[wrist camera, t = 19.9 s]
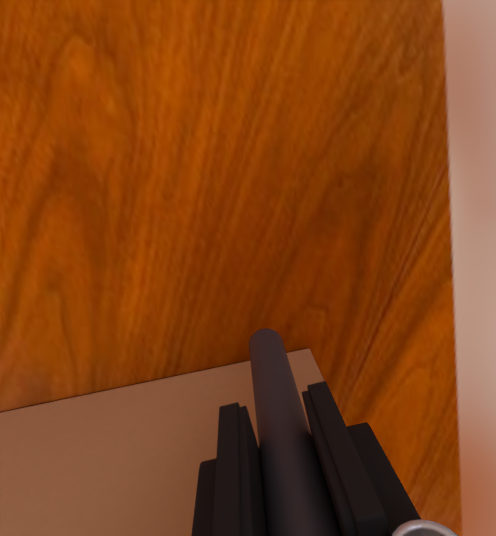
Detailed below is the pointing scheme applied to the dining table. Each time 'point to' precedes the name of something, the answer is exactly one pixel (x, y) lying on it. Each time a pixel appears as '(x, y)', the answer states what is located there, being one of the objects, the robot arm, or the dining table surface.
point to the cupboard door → (163, 452)
